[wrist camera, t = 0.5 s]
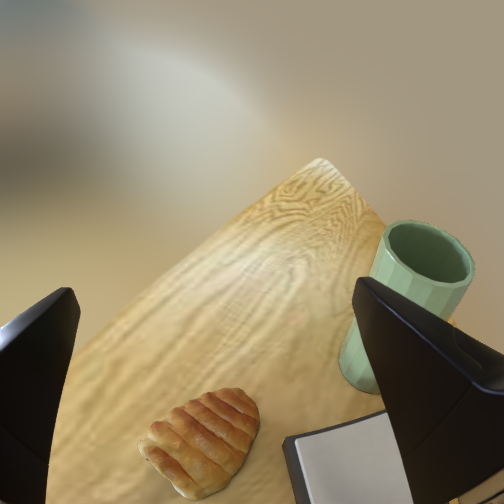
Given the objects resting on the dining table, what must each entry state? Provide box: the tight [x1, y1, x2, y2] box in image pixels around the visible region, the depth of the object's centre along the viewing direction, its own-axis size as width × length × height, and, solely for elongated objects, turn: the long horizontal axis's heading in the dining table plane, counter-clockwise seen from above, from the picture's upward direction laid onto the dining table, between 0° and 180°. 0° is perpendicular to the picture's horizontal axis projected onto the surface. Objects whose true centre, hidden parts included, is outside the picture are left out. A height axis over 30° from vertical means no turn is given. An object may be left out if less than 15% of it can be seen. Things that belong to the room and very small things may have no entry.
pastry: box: [138, 388, 260, 500], centre depth 18 cm, size 9×7×4 cm
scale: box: [282, 409, 449, 504], centre depth 14 cm, size 11×10×3 cm
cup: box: [339, 220, 475, 394], centre depth 20 cm, size 7×7×13 cm
